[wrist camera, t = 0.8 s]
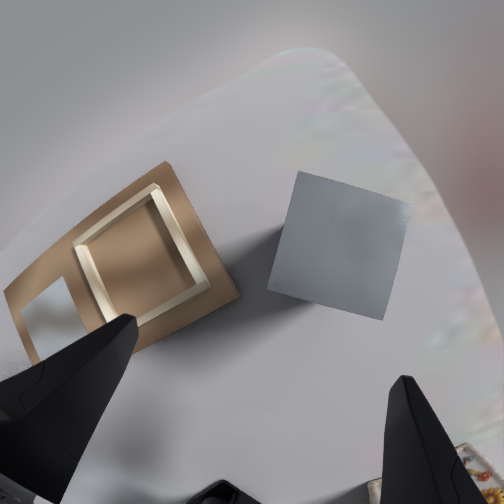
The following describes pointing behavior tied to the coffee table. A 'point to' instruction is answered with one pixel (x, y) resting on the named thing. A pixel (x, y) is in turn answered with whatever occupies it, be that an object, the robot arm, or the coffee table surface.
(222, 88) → the coffee table surface
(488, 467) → the decorative jar
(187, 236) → the wooden board
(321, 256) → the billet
